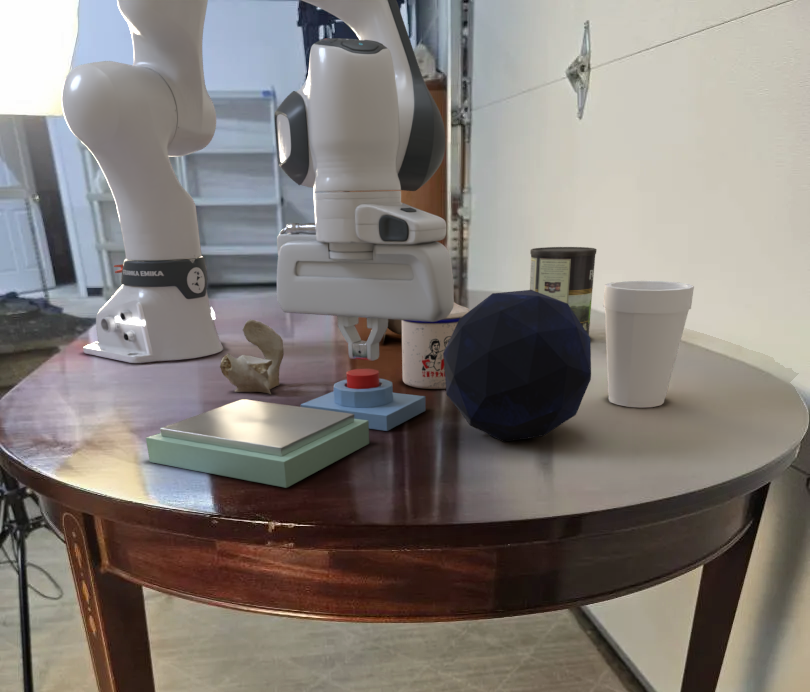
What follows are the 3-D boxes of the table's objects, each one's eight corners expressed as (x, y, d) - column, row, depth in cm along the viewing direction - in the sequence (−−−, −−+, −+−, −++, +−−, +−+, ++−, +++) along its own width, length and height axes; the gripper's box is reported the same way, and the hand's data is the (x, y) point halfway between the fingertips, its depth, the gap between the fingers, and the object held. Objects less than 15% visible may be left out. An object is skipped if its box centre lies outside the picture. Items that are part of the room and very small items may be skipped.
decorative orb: (490, 357, 89) (456, 253, 77) (620, 370, 82) (604, 257, 70) (444, 457, 83) (399, 362, 71) (578, 479, 76) (553, 378, 64)
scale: (149, 462, 73) (144, 429, 72) (243, 424, 84) (240, 395, 83) (286, 488, 66) (283, 452, 65) (369, 443, 77) (368, 412, 76)
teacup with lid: (423, 393, 96) (422, 296, 91) (388, 379, 103) (386, 288, 98) (502, 381, 101) (505, 288, 96) (463, 369, 108) (465, 282, 103)
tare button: (341, 389, 85) (340, 373, 85) (357, 382, 88) (357, 367, 87) (369, 392, 84) (368, 376, 83) (385, 385, 87) (384, 370, 86)
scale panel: (301, 419, 86) (299, 388, 85) (344, 400, 93) (343, 371, 92) (387, 431, 81) (386, 398, 80) (425, 410, 88) (425, 380, 87)
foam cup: (679, 394, 94) (694, 281, 88) (677, 413, 86) (693, 291, 80) (599, 389, 96) (609, 280, 91) (590, 407, 89) (600, 289, 83)
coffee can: (582, 333, 133) (589, 245, 127) (594, 344, 123) (603, 250, 118) (522, 334, 133) (526, 246, 127) (530, 345, 124) (535, 251, 118)
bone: (236, 390, 92) (218, 311, 93) (221, 408, 98) (205, 333, 98) (302, 385, 96) (284, 310, 97) (285, 403, 102) (268, 331, 103)
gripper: (258, 224, 81) (270, 357, 87) (433, 224, 72) (433, 372, 78) (293, 221, 86) (302, 347, 92) (461, 221, 77) (459, 360, 83)
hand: (364, 358), depth 85 cm, fingers closed
